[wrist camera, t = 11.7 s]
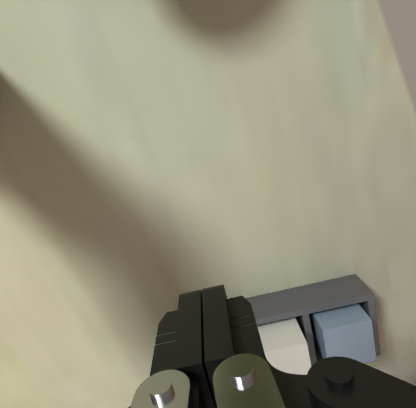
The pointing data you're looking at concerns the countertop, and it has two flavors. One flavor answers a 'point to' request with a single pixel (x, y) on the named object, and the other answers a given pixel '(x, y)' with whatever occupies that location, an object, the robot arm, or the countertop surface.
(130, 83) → the countertop surface
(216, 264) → the countertop surface
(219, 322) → the robot arm
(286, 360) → the white key
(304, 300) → the key panel
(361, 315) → the slate key
